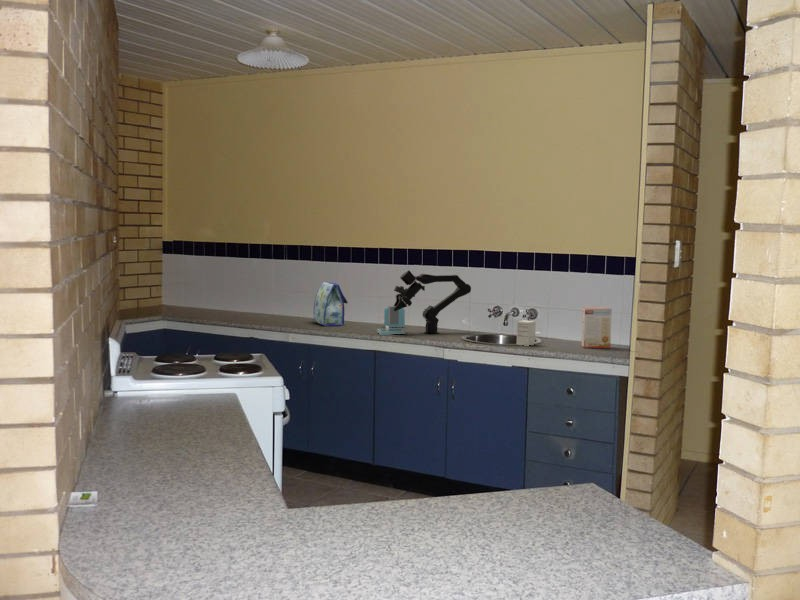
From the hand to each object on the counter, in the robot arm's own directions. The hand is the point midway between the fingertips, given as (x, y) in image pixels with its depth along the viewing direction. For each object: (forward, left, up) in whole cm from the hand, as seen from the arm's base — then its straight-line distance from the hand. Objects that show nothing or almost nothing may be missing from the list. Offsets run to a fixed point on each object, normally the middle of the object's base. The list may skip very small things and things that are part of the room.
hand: (393, 310), depth 452 cm
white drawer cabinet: (-74, -26, -14) cm, 80 cm away
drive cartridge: (0, 0, -8) cm, 8 cm away
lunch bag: (+56, 0, -14) cm, 58 cm away
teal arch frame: (+21, -22, -14) cm, 33 cm away
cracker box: (-103, -48, -14) cm, 114 cm away
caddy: (0, +1, -13) cm, 14 cm away
